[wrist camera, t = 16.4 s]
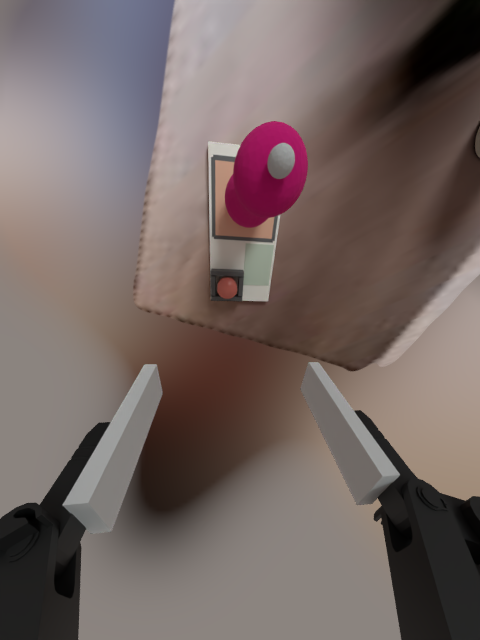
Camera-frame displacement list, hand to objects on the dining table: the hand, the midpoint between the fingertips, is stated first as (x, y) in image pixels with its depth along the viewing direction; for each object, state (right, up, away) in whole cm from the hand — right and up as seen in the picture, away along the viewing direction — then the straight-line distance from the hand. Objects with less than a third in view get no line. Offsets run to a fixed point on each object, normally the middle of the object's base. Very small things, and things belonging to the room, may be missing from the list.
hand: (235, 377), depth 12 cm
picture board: (+1, +19, +19) cm, 27 cm away
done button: (-2, +11, +21) cm, 23 cm away
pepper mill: (+1, +23, +16) cm, 28 cm away
